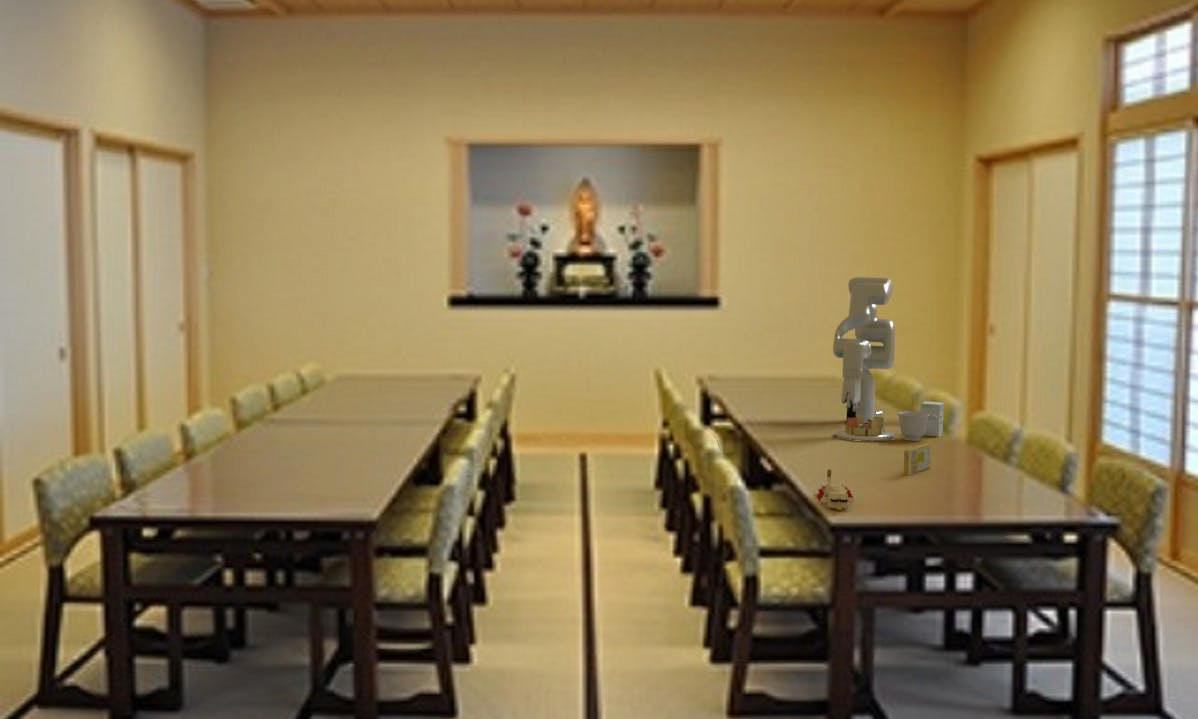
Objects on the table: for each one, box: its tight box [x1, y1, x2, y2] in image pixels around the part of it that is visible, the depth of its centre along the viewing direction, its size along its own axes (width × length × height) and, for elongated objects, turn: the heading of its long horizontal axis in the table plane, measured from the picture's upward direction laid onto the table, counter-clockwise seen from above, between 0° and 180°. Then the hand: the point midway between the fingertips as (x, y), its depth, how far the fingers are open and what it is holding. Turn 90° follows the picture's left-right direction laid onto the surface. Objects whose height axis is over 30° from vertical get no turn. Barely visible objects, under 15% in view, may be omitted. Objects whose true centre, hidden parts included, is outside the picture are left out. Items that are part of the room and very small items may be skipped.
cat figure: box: [816, 469, 855, 511], centre depth 357 cm, size 10×9×25 cm
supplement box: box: [920, 400, 945, 438], centre depth 482 cm, size 7×7×13 cm
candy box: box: [903, 443, 931, 476], centre depth 406 cm, size 16×2×8 cm, turn 141°
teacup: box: [897, 410, 938, 442], centre depth 469 cm, size 12×15×10 cm
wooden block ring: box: [844, 415, 886, 436], centre depth 474 cm, size 14×14×6 cm
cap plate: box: [835, 425, 896, 442], centre depth 475 cm, size 22×22×4 cm
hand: (851, 421), depth 476 cm, fingers closed
